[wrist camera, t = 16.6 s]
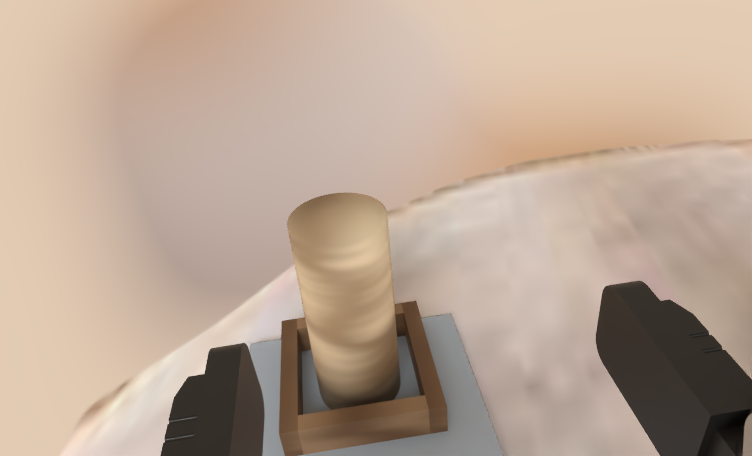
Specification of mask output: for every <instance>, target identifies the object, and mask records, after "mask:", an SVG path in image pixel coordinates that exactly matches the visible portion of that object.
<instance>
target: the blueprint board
mask: <svg viewBox="0 0 752 456" xmlns="http://www.w3.org/2000/svg"><path fill="white" fill-rule="evenodd" d="M421 320H422V323H423V327H424V330H425V333H426V337H427V340H428V344H429V347H430V350H431V354H432V357H433V360H434V364H435V367H436V371H437V374H438V377H439V381H440V384H441V387H442V391H443V394H444V398H445V401H446V404H447V419H448V431H445V432H439V433H433V434H427V435H421V436H414V437H408V438H402V439H396V440H390V441H384V442H378V443H372V444H366V445H360V446H354V447H347V448H341V449H335V450H329V451H323V452H317V453H311V454H305V455H299V456H504V455H503V452H502V450H501V447H500V444H499V441H498V439H497V436H496V433H495V431H494V428H493V425H492V423H491V420H490V417H489V414H488V412H487V409H486V406H485V404H484V401H483V398H482V396H481V393H480V390H479V387H478V385H477V382H476V379H475V377H474V374H473V371H472V369H471V366H470V363H469V360H468V358H467V355H466V352H465V350H464V347H463V344H462V342H461V339H460V336H459V333H458V331H457V328H456V325H455V323H454V320H453V317H452V315H451V314H445V315H438V316H431V317H425V318H421ZM397 344H398V356H399V369H400V389H399V392H398V394H397V396H396V398H395V399H394V400H397V399H404V398H410V397H416V396H420V392H419V388H418V384H417V380H416V376H415V372H414V368H413V364H412V360H411V356H410V352H409V348H408V344H407V340H406V336H400V337H397ZM250 355H251V358H252V361H253V365H254V368H255V371H256V374H257V377H258V380H259V383H260V386H261V390H262V394H263V400H264V411H265V420H264V437H263V454H262V456H285V454H284V451H283V447H282V443H281V440H280V436H279V411H280V373H281V339H279V340H273V341H266V342H259V343H253V344H251V345H250ZM302 386H303V414H310V413H316V412H322V411H328V410H332V409H330V408H329V407H328V406H327V405H326V404H325V403H324V402H323V400H322V398H321V395H320V391H319V386H318V381H317V375H316V370H315V365H314V360H313V355H312V350H308V351H302Z"/></svg>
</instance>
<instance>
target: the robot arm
mask: <svg viewBox="0 0 752 456" xmlns="http://www.w3.org/2000/svg"><path fill="white" fill-rule="evenodd" d="M596 344H597V349H598V353H599V356H600V358H601V361H602V362H603V364H604V366H605V367H606V369H607V371H608V372H609V374H610V376H611V377H612V379H613V380H614V382H615V384H616V385H617V387H618V388H619V390H620V392H621V393H622V395H623V396H624V398H625V400H626V401H627V403H628V404H629V406H630V408H631V409H632V411H633V412H634V414H635V416H636V417H637V419H638V421H639V422H640V424H641V425H642V427H643V429H644V430H645V432H646V433H647V435H648V437H649V438H650V440H651V441H652V443H653V445H654V446H655V448H656V449H657V451H658V453H659V454H660V456H752V380H751V378H750V377H749V376H748V375H747V374H746V373H745V372H744V371H743V369H742V368H741V367H740V366H739V365H738V364H737V363H736V362H735V361H734V359H733V358H732V357H731V356H730V355H729V354H728V353H727V352H726V350H722V346H721V345H720V344H719V343H718V342H717V340H716V339H715V338H714V337H713V336H712V335H709V331H708V330H707V329H706V328H705V327H704V326H703V325H702V324H701V323H700V321H699V320H698V319H697V318H696V317H695V316H694V315H693V314H692V313H691V312H689V311H687V310H686V309H684V308H682V307H681V306H679V305H678V304H676V303H674V302H673V301H671V300H664V301H660V300H659V299H658V298H657V297H656V295H655V294H654V293H653V292H652V291H651V289H650V288H649V287H648V286H647V285H646V284H645V283H644V282H642V281H634V282H628V283H622V284H615V285H609V286H606V287H605V288H604V290H603V293H602V299H601V306H600V312H599V319H598V325H597V332H596ZM264 420H265V411H264V400H263V394H262V390H261V386H260V383H259V380H258V377H257V374H256V371H255V368H254V365H253V361H252V358H251V355H250V352H249V349H248V347H247V345H246V344H245V343H242V344H236V345H230V346H223V347H217V348H211V349H210V351H209V354H208V359H207V364H206V370H205V374H203V375H197V376H191V377H188V378H187V379H186V381H185V382H184V384H183V385H182V387H181V388H180V390H179V391H178V393H177V394H176V396H175V397H174V400H173V404H172V409H171V413H170V417H169V424H168V426H167V430H166V434H165V443H163V447H162V452H161V456H262V454H263V437H264Z"/></svg>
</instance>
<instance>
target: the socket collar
mask: <svg viewBox="0 0 752 456" xmlns="http://www.w3.org/2000/svg"><path fill="white" fill-rule="evenodd" d="M394 306H395V319H396V331H397V337H400V336H406V340H407V344H408V348H409V352H410V356H411V360H412V364H413V368H414V372H415V376H416V380H417V384H418V388H419V392H420V396H416V397H410V398H404V399H397V400H391V401H385V402H379V403H372V404H366V405H360V406H354V407H347V408H341V409H335V410H328V411H322V412H316V413H310V414H303V386H302V351H308V350H311V345H310V340H309V334H308V329H307V324H306V319H305V318H299V319H292V320H285V321H282V335H281V373H280V411H279V436H280V440H281V443H282V447H283V451H284V454H285V456H299V455H305V454H311V453H317V452H323V451H329V450H335V449H341V448H347V447H354V446H360V445H366V444H372V443H378V442H384V441H390V440H396V439H402V438H408V437H414V436H421V435H427V434H433V433H439V432H445V431H448V419H447V404H446V401H445V398H444V394H443V391H442V387H441V384H440V381H439V377H438V374H437V371H436V367H435V364H434V360H433V357H432V354H431V350H430V347H429V344H428V340H427V337H426V333H425V330H424V327H423V323H422V320H421V317H420V313H419V310H418V306H417V303H416V301H413V302H406V303H399V304H394Z"/></svg>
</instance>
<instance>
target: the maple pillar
mask: <svg viewBox="0 0 752 456" xmlns="http://www.w3.org/2000/svg"><path fill="white" fill-rule="evenodd" d="M287 226H288V231H289V237H290V242H291V247H292V252H293V258H294V263H295V268H296V273H297V278H298V283H299V288H300V293H301V299H302V304H303V309H304V314H305V319H306V324H307V329H308V334H309V340H310V345H311V350H312V355H313V360H314V365H315V370H316V375H317V381H318V386H319V391H320V395H321V398H322V400H323V402H324V403H325V404H326V405H327V406H328V407H329V408H330V409H332V410H335V409H341V408H347V407H354V406H360V405H366V404H372V403H379V402H385V401H391V400H394V399H395V398H396V396H397V394H398V392H399V389H400V369H399V356H398V344H397V331H396V319H395V306H394V294H393V281H392V269H391V256H390V244H389V231H388V219H387V210H386V208H385V206H384V205H383V204H382V203H381V202H380V201H378V200H377V199H375V198H372V197H370V196H367V195H363V194H357V193H335V194H329V195H324V196H320V197H317V198H314V199H312V200H309V201H307V202H305V203H303V204H302V205H300V206H299V207H297V208H296V209H295V210H294V211H293V212H292V213H291V215H290V216H289V219H288V222H287Z"/></svg>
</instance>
